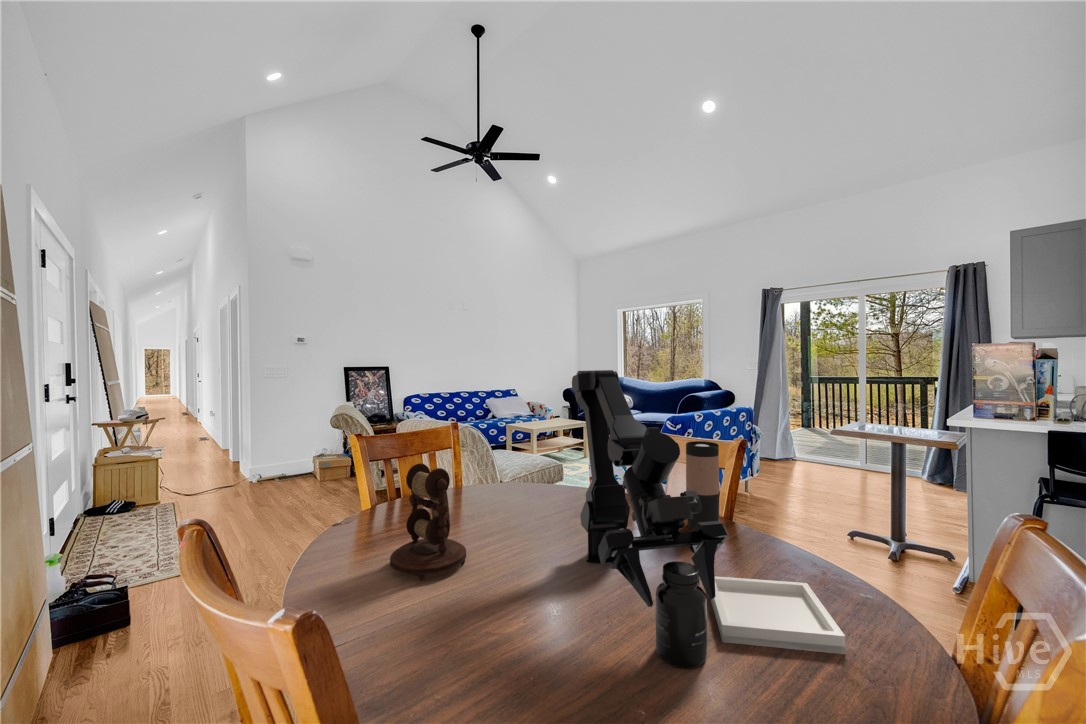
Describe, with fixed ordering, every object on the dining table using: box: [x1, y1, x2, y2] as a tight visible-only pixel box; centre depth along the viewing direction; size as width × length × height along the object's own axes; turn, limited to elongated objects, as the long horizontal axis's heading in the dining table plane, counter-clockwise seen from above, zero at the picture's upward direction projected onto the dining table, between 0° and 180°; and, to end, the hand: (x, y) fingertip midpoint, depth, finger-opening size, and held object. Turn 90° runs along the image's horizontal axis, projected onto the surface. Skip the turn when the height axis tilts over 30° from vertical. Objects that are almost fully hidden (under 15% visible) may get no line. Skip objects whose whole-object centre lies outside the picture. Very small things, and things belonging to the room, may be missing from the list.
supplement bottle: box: [655, 560, 708, 669], centre depth 67 cm, size 7×7×12 cm
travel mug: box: [685, 440, 720, 530], centre depth 117 cm, size 8×8×20 cm
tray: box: [710, 575, 846, 655], centre depth 76 cm, size 16×16×2 cm
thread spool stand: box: [389, 463, 467, 582], centre depth 97 cm, size 15×15×20 cm
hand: (682, 602), depth 67 cm, fingers open, 9 cm apart
